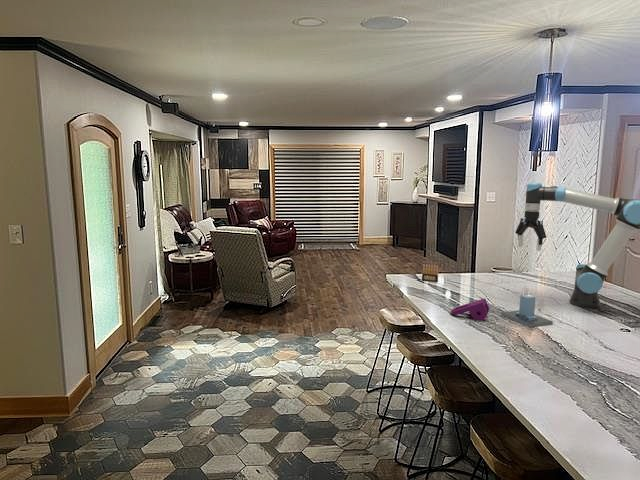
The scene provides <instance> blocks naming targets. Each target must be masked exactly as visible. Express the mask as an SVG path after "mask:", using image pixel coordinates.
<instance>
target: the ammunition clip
mask: <svg viewBox="0 0 640 480" xmlns="http://www.w3.org/2000/svg"><path fill="white" fill-rule="evenodd" d="M421 282H428V283H429V282H431V283H439V265H438V264H434V265H433V264H431V263H426V265H425V263H423V265H422V274H421Z"/></svg>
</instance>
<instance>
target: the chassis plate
mask: <svg viewBox="0 0 640 480" xmlns="http://www.w3.org/2000/svg"><path fill="white" fill-rule="evenodd" d="M515 312H519V310H509V311H504V312H503V311H502V312H501V316H502V317H504V318H507V319H509V320H512V321H514V322H517V323H519V324H522V325H524V326H526V327H529V328H536V327H543V326H550V325H553V324H554V322H553V320H551V319H547V318H545V317H542V316H540V315H537V314H535V313H534V316H536V317H538V319H532V320H529V319H524V318H521V317H519V315H517V314H515Z"/></svg>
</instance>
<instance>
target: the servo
mask: <svg viewBox="0 0 640 480" xmlns="http://www.w3.org/2000/svg"><path fill="white" fill-rule="evenodd" d="M536 300H537V297H536V296H533V295H532V294H524V295H520V299H519V308H518V309H519V312H515V314H517V315H519V317H521V318H524V319H529V320H532V319H538V317H536V316H534V314H535V310H536Z"/></svg>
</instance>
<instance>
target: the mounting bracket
mask: <svg viewBox="0 0 640 480" xmlns="http://www.w3.org/2000/svg"><path fill="white" fill-rule="evenodd" d="M450 312H451V315H452V316H457V315H460V314H464V313H468V312H469V313H470V316H471V318H473V320H475V321H484V320H485V319H486V318H487V316H488V314H489V312H490V306H489V303H488V302H487V299H486V298H485V297H484V298H482V299H478V300H475V301H471V302H468V303H465V304H462V305H458V306H455V307H454V308H452V309H451V310H450Z"/></svg>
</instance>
